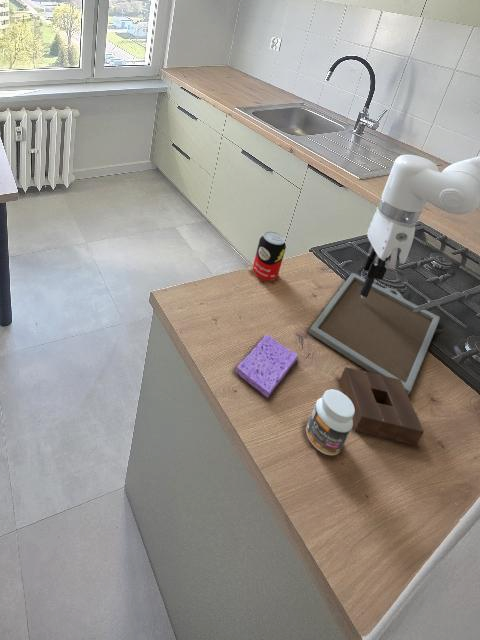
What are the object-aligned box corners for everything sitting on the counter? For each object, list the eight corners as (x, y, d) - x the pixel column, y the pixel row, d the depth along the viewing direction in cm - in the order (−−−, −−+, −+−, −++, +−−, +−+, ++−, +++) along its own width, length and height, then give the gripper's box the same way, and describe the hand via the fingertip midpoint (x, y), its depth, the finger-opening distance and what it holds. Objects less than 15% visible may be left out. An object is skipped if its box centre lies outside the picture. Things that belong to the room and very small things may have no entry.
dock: (393, 392, 82) (400, 379, 80) (416, 446, 73) (424, 431, 71) (339, 380, 84) (345, 366, 82) (355, 430, 75) (361, 416, 73)
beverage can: (249, 264, 114) (258, 228, 109) (273, 267, 113) (283, 231, 108) (254, 280, 108) (264, 244, 103) (279, 284, 107) (290, 247, 102)
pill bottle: (303, 444, 72) (318, 408, 68) (307, 415, 77) (321, 379, 73) (340, 464, 70) (358, 427, 66) (341, 433, 74) (358, 397, 70)
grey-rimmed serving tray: (309, 328, 93) (355, 267, 112) (308, 333, 94) (354, 272, 113) (410, 391, 80) (443, 311, 99) (407, 397, 81) (440, 316, 100)
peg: (365, 295, 102) (382, 254, 97) (367, 300, 101) (384, 258, 96) (358, 294, 103) (374, 252, 97) (360, 299, 101) (377, 257, 96)
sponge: (234, 372, 84) (236, 366, 83) (265, 338, 92) (267, 332, 91) (267, 399, 79) (269, 392, 79) (296, 360, 87) (298, 354, 87)
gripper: (435, 234, 83) (404, 302, 91) (402, 193, 97) (377, 255, 105) (393, 227, 85) (366, 295, 92) (367, 188, 99) (345, 250, 106)
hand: (372, 273), depth 99 cm, fingers closed on peg, 1 cm apart
